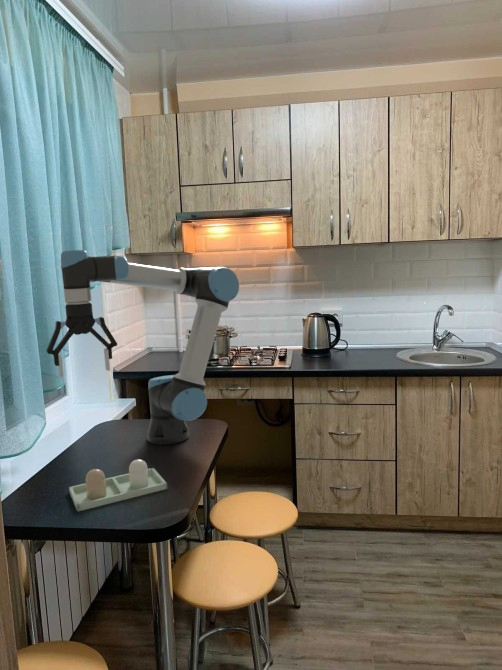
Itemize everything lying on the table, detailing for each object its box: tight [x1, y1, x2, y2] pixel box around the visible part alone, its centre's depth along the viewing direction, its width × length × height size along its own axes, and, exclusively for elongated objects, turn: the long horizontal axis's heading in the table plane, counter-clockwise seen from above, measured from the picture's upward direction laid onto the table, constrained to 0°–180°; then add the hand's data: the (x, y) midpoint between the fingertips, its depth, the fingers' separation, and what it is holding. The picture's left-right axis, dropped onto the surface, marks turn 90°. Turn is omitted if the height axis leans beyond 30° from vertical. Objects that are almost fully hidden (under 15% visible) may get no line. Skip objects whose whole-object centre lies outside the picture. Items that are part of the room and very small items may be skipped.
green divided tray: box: [68, 467, 168, 512], centre depth 145 cm, size 24×13×2 cm, turn 118°
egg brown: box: [84, 468, 107, 500], centre depth 142 cm, size 5×5×8 cm
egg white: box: [128, 458, 149, 489], centre depth 147 cm, size 5×5×8 cm
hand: (85, 373), depth 156 cm, fingers open, 13 cm apart
